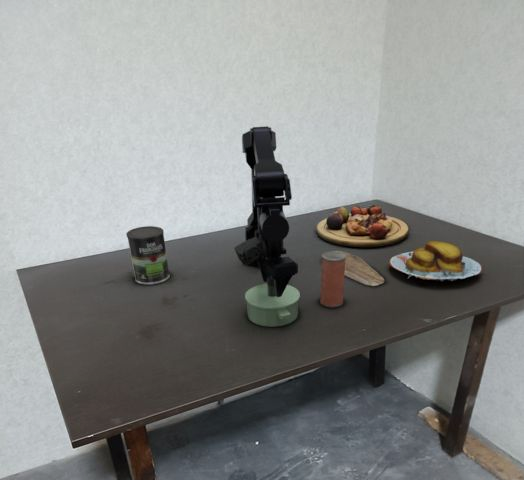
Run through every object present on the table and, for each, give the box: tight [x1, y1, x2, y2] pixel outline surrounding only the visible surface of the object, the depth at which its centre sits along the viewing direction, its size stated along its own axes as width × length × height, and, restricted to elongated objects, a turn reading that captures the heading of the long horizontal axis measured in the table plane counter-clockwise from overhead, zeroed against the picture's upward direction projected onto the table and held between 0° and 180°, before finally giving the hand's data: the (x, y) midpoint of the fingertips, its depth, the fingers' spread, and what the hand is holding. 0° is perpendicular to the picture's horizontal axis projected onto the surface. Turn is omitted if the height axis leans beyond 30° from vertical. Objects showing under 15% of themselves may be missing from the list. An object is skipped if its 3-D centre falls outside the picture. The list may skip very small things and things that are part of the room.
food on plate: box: [388, 240, 483, 282], centre depth 139 cm, size 25×25×7 cm
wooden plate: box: [316, 204, 410, 248], centre depth 169 cm, size 32×32×8 cm
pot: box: [246, 300, 299, 328], centre depth 121 cm, size 13×18×5 cm
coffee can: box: [126, 225, 171, 286], centre depth 140 cm, size 10×10×14 cm
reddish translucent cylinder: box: [319, 250, 346, 309], centre depth 123 cm, size 6×6×13 cm
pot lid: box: [244, 276, 301, 309], centre depth 118 cm, size 14×14×6 cm
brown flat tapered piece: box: [336, 250, 385, 287], centre depth 144 cm, size 26×10×1 cm, turn 31°
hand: (272, 289), depth 118 cm, fingers open, 9 cm apart
